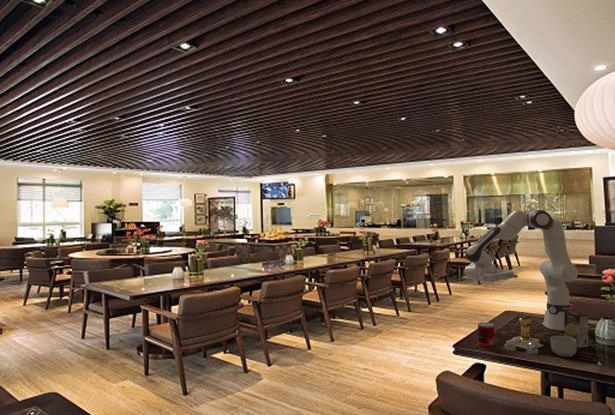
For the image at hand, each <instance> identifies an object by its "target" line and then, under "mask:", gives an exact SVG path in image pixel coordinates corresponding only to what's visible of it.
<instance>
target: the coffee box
mask: <svg viewBox="0 0 615 415" xmlns="http://www.w3.org/2000/svg"><path fill="white" fill-rule="evenodd" d="M563 335H564V336H566V337H569V336H570V337H572V338H574V339H576V346H577V348H587V347H589V315H588V314H586V313H582V312H577V311H574V310H571V311H570V312H564V332H563Z"/></svg>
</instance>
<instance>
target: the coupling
mask: <svg viewBox="0 0 615 415" xmlns="http://www.w3.org/2000/svg"><path fill="white" fill-rule="evenodd" d="M518 320H519V321H518V322H519V326H520V336H521V337H519V336H518V337H519V338H520V339H521V340H522V341H526V340H530V341H532V339H531V338H532V337H531V329H530V328H531V326H532V318H530V315H528V314H527V315H523V316H521V317H519V318H518Z"/></svg>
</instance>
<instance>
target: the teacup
mask: <svg viewBox="0 0 615 415" xmlns="http://www.w3.org/2000/svg"><path fill="white" fill-rule="evenodd" d="M549 339H550V348H551V350H552V352H553V353H554V354H555V355H556V356H559V357H561V358H562V357H563V358H572V357H573V356H574V355H576V353H577V349H578V347H577V346H576V339H574V338H572V337H570V336H569V337H566V336H563V335H555V336H554V335H553V336H550V337H549Z"/></svg>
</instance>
